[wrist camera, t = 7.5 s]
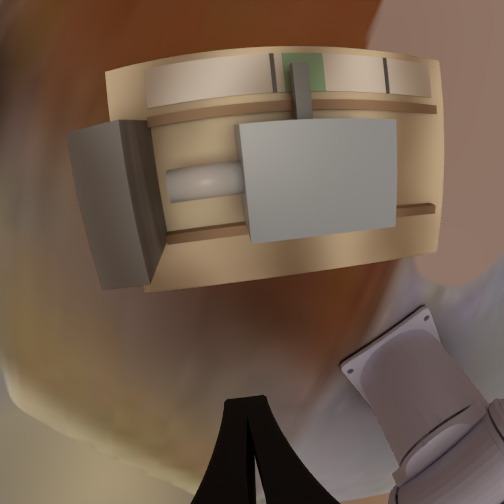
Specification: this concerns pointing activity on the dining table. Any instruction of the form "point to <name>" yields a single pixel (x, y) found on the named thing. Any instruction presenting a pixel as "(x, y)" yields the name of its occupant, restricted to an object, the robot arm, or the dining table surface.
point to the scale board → (224, 150)
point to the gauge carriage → (303, 173)
